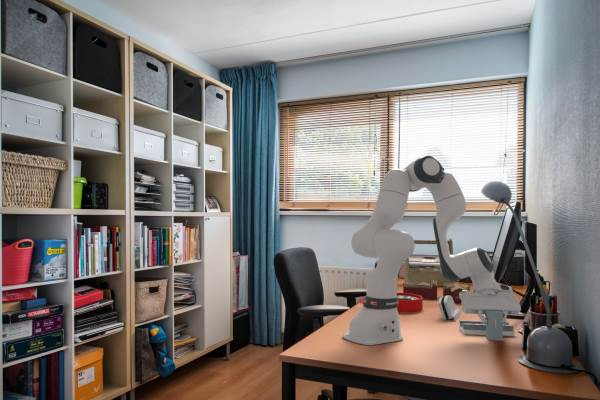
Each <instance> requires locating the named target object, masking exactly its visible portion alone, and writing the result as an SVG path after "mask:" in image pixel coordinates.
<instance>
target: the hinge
mask: <svg viewBox="0 0 600 400" xmlns="http://www.w3.org/2000/svg"><path fill="white" fill-rule="evenodd" d="M438 307H439V310H440V314H441V316H442V320H443V321H446V320H447V319H453V321H454V322H456V321H457V320H458V318H460V316H461V314H462V313H461V310H460V309H459V308H457V306H456V303H454V301H453V298H452V296H450V295H449V296H445V297H444V296H443V295H442V297H440V298H439V300H438Z"/></svg>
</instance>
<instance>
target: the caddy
mask: <svg viewBox="0 0 600 400" xmlns="http://www.w3.org/2000/svg"><path fill="white" fill-rule="evenodd" d="M447 242H448V247H449V252H450V254H451V255H454V248H453V246H454V245H453V239H452V238H449V239H447ZM414 243H415V245H437V244H436V239H433V240H427V239H414ZM403 278H404V279H403V280H404V281H403V282H404V283H405V284H411V283H412V284H413V285H418V284H420V283H423V282H425V283H427V284H429V283H430V285H431V281H432V283H433V280H432V279H434V282H435V283H436V282H437V287H443V285H444V286H445V285H446V286H447V285H448V286H449V283H450V286H451V284H452V286H455V282H451V281H449V280H446V279H445V278H444V277H443V275H442V273H441V270H440V268H424V267H423V268H418V267H417V268H416V267H415V268H414V267H413V268H412V267H410V257H409V258H408V259H407V260H406V261H405V262H404V277H403ZM416 282H417V283H418V284H417V283H416Z"/></svg>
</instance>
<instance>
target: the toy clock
mask: <svg viewBox="0 0 600 400" xmlns="http://www.w3.org/2000/svg"><path fill="white" fill-rule="evenodd" d="M397 297H398V307H397V311H398V313H402V314H405V313H407V314H408V313H409V314H411V313H419V312H421V311H423V308H424V307H423V302H424V301H423V300H424V299H423V297H422V296H420V295H416V294H410V293H403V292H397Z"/></svg>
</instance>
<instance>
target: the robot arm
mask: <svg viewBox="0 0 600 400" xmlns="http://www.w3.org/2000/svg"><path fill="white" fill-rule="evenodd" d="M422 189H427V191H429V192H430V194H431V196H432V198H433V201H434V204H435V209H436V213H435V216H434V218H433V220H432V226H433V232H434V237H435V239H434V240H436V244H435V245H436V249H437V253H438V258H439V260H438V261H439V269H440V270H441V273H442V275H443V277H444V278H445V279H446V280H449V281H451V282H454V283H455V282H458V281H461V280H463V279H465V278H468V277H469V278H470V280H471V281H472V289H473V290H470V291H466V290H463V291H461V292H460V293H459V297H460V299H461V300H462V301H461V304H460V305H461V311H462V313H464V314H466V315H467V314H469V315H470V314H474V315H476V316H477V317H478V318H479V319H480V321H482V323H483V324H487V323H488V320H487V317H486V316H484V315H486V311H501V312H503V325H506V323H507V322H508V321H507V316H518V315H519V314H520V312H521V310H522V307H521V305H520V302H519V301H520V300H519V299H518V297H517V296H516V295H515V293H513V287H512V286H509V285H506V284H503V283H500V282H497V280H496V278H495V273H494V265H493V261H492V258H491V256H490V254H489V252H488V251H487V250H485V249H483V248H481V247H473V248H471V249H468V250H465V251H461V252H458V253H455V254H453V255H451V254H450V252H449V244H448V242H447V240H448V238H447V233H448V231H449V229H450V227H452V225H454V224H455V223H456V222H457V221H459V220H460V218H462V217H463V215H464V214H465V213H466V210H467V202H466V198H465V196H464V194H463V191H462V189H461V187H460V185H459V183H458V181H457V179H456V178H455V176H454V175H453V173H451V172H450V171H448V170H447V171H446V170H445V168H444V167H443V165H442V164H441V162H440V160H439V159H437V158H436V157H434V156H432V155H424V156H420V157H418V158H417V159H416V160H413V161H412V162H410V163H408V165H406V167H405V168H402V169H401V168H393V169H390V170H388V171H387V173H386V174H385V176H384V178H383V180H382V182H381V186H380V188H379V192H378V196H377V198H376V199H377V200H376V203H375V205H374V206H375V207H374V210H373V212H372V214H371V215H370V217H369V218H368V220H367V222H366V223H365V224H364V225H363V226H362V227H360V228H359V229H358V230H356V231H355V232H354V234H353V235H352V238H351V247H352V250H353V252H354V253H355V254H357V255H359V256H362V257H364V258H370V259H371V258H372V259H378V260H377V265H376V267H375V268H374V269H372V270H370V271H369V272H368V273H367V275H366V295H365V297H364V298H363V297H359V298H358V303H359V304H362V305H363V306H362V308H360V309H359V311H358V312H357V313H356V314H355V315H354V316H353V317H352V318H351V319H350V322H349V328H348V331H347V332H344V333H343V334H342V338H344V340H347V341H349V342H353V343H356V344H361V345H365V346H373V345H374V346H375V345H381V344H388V343H393V342H400V341H403V340H404V337H403V335H402V332H401V320H400V314H399V312H398V311H397V307H398V297H397V293H398V291H397V288H398V277H399V274H400V270H401V268H402V266H403V264H405V261H406V260H407V259H408V258H409V259H410V258H411V256H412V255H413V254H414V252H415V247H416V244H415V243H414V240H415V239H414V237H413V236H412V235H411V234H410V233H409V232H407V231H403V230H399V229H392V228H393V227H394V226H395V225H396V224H397V223H400V222H401V221H402V220H403V219H404V216H405V213H406V209H407V203H408V200H409V194H410V193H414V192H418V191H420V190H422Z"/></svg>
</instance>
